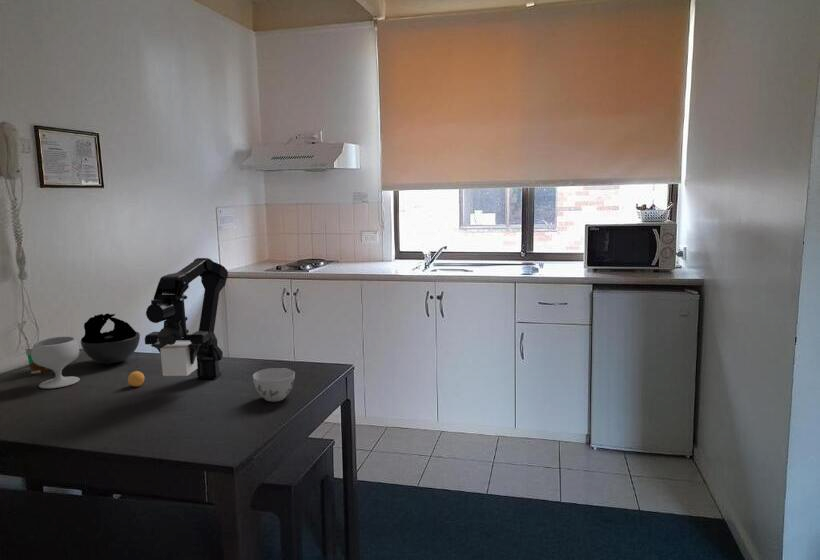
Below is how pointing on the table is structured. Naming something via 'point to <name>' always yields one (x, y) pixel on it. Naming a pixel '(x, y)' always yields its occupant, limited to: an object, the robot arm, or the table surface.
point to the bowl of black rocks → (109, 340)
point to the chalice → (56, 359)
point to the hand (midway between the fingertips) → (179, 364)
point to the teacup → (274, 383)
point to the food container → (34, 367)
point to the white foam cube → (177, 359)
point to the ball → (136, 378)
